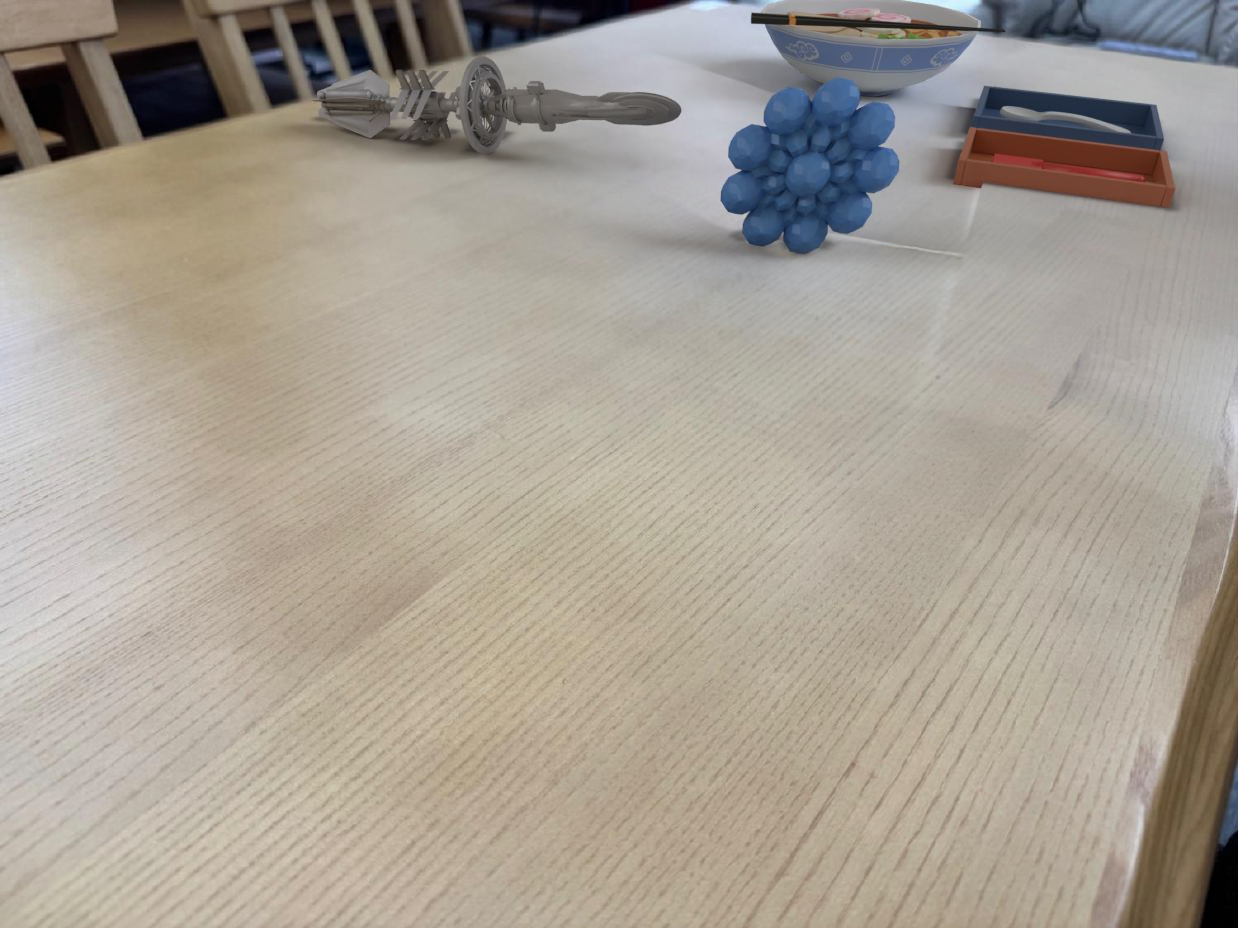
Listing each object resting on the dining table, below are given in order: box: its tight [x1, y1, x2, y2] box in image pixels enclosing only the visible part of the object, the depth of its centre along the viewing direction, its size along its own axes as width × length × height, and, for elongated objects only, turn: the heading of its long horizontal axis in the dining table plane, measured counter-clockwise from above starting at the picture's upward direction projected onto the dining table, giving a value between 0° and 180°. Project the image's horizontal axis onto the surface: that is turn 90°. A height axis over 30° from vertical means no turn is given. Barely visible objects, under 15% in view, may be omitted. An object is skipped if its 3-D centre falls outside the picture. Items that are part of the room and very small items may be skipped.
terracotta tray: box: [952, 126, 1176, 208], centre depth 83 cm, size 16×10×2 cm, turn 69°
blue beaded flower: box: [720, 78, 900, 255], centre depth 68 cm, size 12×7×12 cm, turn 80°
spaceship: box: [311, 55, 682, 155], centre depth 85 cm, size 8×35×8 cm
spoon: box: [1000, 106, 1131, 133], centre depth 95 cm, size 3×12×2 cm, turn 66°
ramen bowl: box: [750, 0, 1006, 97], centre depth 106 cm, size 25×23×8 cm
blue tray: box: [970, 85, 1165, 151], centre depth 95 cm, size 16×12×2 cm
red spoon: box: [992, 154, 1147, 183], centre depth 83 cm, size 12×3×1 cm, turn 69°
